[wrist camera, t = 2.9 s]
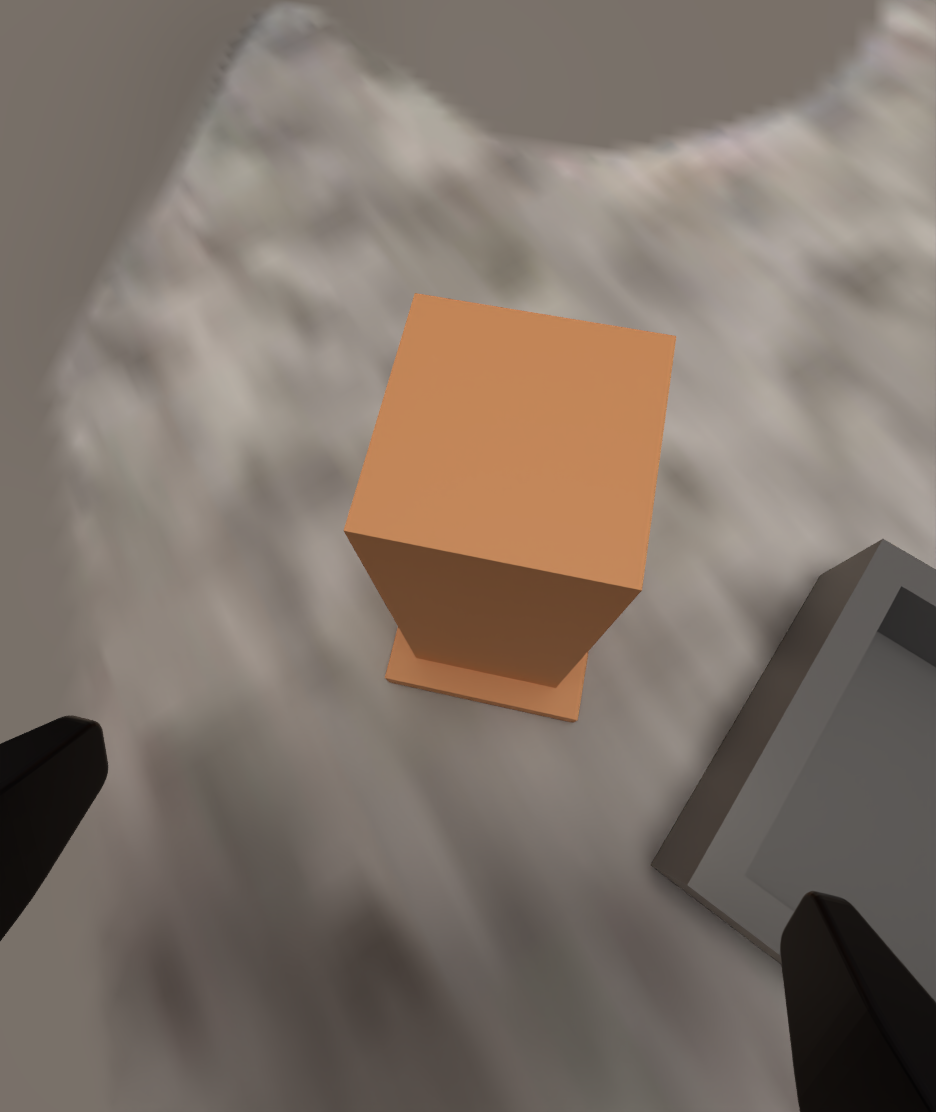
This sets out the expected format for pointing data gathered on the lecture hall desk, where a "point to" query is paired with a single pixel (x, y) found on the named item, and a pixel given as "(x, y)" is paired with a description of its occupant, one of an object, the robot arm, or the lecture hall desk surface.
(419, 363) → the orange post with base
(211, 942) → the lecture hall desk surface
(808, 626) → the gray square tray
